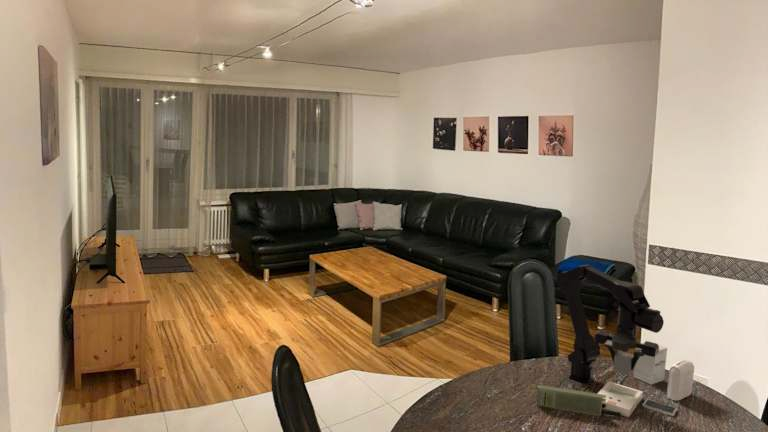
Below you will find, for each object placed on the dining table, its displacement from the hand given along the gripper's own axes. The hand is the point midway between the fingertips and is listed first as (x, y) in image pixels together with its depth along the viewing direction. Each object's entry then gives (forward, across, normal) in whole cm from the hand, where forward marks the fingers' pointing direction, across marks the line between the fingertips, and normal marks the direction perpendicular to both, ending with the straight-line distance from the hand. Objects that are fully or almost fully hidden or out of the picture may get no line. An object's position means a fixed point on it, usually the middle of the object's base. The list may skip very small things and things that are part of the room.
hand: (623, 367), depth 171 cm
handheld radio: (+11, -8, -18) cm, 23 cm away
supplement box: (+11, +4, +22) cm, 25 cm away
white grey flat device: (+11, 0, -4) cm, 11 cm away
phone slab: (+11, +12, +1) cm, 16 cm away
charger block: (+1, 0, 0) cm, 1 cm away
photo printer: (+11, +15, +15) cm, 24 cm away
